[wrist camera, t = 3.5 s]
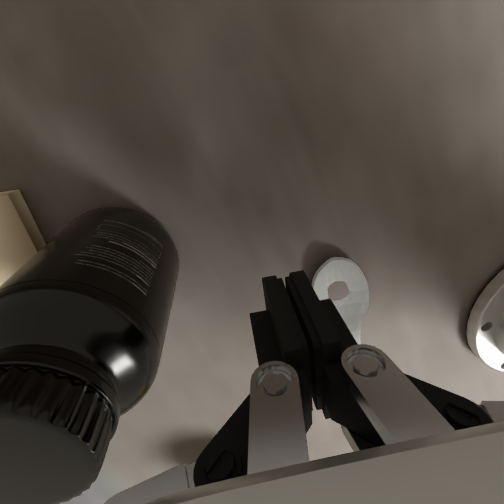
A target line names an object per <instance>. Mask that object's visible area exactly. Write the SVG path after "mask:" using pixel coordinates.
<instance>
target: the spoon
mask: <svg viewBox="0 0 504 504" xmlns="http://www.w3.org/2000/svg"><path fill="white" fill-rule="evenodd" d="M335 281H344V282H345V283H346V285H347V287H348V289H349V291H350V292H349V294H348V295H347V296H346V297H344V298H343V299H342V300H335V301H333V300H332V302H333V303H334V305H335V307H336V308H337V310H338V312H339V313H340V315H341V317H342V318H343V320H344V322H345V323H346V325H347V327H348V329H349V330H350V332H351V334H352V335H353V337H354V339H355V340H356V342H357V344H361V341H360V331H361V326H362V323H363V320H364V318H365V316H366V313H367V310H368V305H369V287H368V284H367V281H366V278H365V276H364V274H363V272H362V271H361V269H360V268H359V267H358V265H357V264H356V263H355V262H353V261H352V260H350V259H347V258H343V257H332V258H330V259H328V260H327V261H326V262H325V263H323V264H322V265H321V266H320V268H319V269H318V270H317V271H316V273H315V275H314V277H313V280H312V287H313V289H314V291H315V292H316V294H317V296H318V298H319V300H324V299H329V298H328V290H327V288H328V287H329V286H330V285H331V284H332V283H334V282H335Z"/></svg>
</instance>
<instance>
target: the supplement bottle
mask: <svg viewBox="0 0 504 504" xmlns="http://www.w3.org/2000/svg"><path fill="white" fill-rule="evenodd" d="M178 270H179V258H178V253H177V249H176V247H175V244H174V242H173V240H172V239H171V237H170V236H169V234H168V233H167V232H166V231H165V230H164V228H163V227H162V226H160V225H159V224H158V223H157V222H155V221H154V220H153V219H151V218H149V217H148V216H146V215H144V214H142V213H139V212H137V211H133V210H130V209H125V208H117V207H109V208H100V209H96V210H92V211H89V212H87V213H85V214H83V215H81V216H79V217H78V218H76V219H75V220H74V221H72V222H71V223H70V224H69V225H68V226H67V227H65V228H64V229H63V230H62V231H61V232H60V233H59V234H57V235H56V236H55V237H54V238H53V239H52V240H51V241H50V242H49V243H47V244H46V245H45V246H44V247H43V248H42V249H41V250H40V251H39V252H37V253H36V254H35V255H34V256H33V257H32V258H31V259H30V260H29V261H27V262H26V263H25V264H24V265H23V266H22V267H21V268H20V269H19V270H17V271H16V272H15V273H14V274H13V275H12V276H11V277H10V278H9V279H8V280H6V281H5V282H4V283H3V284H2V285H1V286H0V504H59V503H61V502H66V501H69V500H71V499H72V498H73V497H76V496H79V495H81V493H82V492H83V491H85V490H87V489H89V488H90V486H91V484H92V483H93V482H94V481H95V480H96V479H97V477H98V475H99V472H100V469H101V467H102V464H103V461H104V458H105V455H106V452H107V448H108V445H109V442H110V440H111V439H112V437H113V436H114V434H115V431H116V429H117V425H118V421H119V417H120V416H121V415H123V414H125V413H126V412H128V411H129V410H130V409H132V408H133V407H134V406H135V405H136V404H137V403H138V402H139V401H140V400H141V399H142V398H143V397H144V396H145V395H146V393H147V392H148V390H149V389H150V387H151V386H152V384H153V382H154V380H155V377H156V374H157V370H158V366H159V363H160V358H161V353H162V348H163V344H164V339H165V334H166V329H167V325H168V320H169V315H170V310H171V306H172V301H173V296H174V291H175V287H176V281H177V276H178Z"/></svg>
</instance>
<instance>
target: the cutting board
mask: <svg viewBox="0 0 504 504" xmlns="http://www.w3.org/2000/svg"><path fill="white" fill-rule="evenodd" d="M45 245H46V243H45V241H44V239H43V237H42V235H41V233H40V231H39V229H38V227H37V225H36V223H35V221H34V219H33V217H32V215H31V213H30V210H29V208H28V206H27V204H26V202H25V200H24V198H23V196H22V194H21V192H20V190H19V189H17V190H11V191H4V192H0V286H1V285H2V284H3V283H4V282H5V281H6V280H8V279H9V278H10V277H11V276H12V275H13V274H14V273H15V272H16V271H17V270H19V269H20V268H21V267H22V266H23V265H24V264H25V263H26V262H27V261H29V260H30V259H31V258H32V257H33V256H34V255H35V254H36V253H37V252H39V251H40V250H41V249H42V248H43V247H44V246H45Z"/></svg>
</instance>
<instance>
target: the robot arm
mask: <svg viewBox="0 0 504 504" xmlns="http://www.w3.org/2000/svg"><path fill="white" fill-rule="evenodd" d="M262 282H263V289H264V297H265V304H266V310H265V311H260V312H254V313H250V319H251V324H252V330H253V336H254V342H255V347H256V353H257V358H258V364H259V367H258V368H257V369H255V371H254V373H253V374H252V377H251V384H250V394H249V395H248V397H247V398H246V399H245V400H244V401H243V403H242V404H241V405H240V406H239V407H238V409H237V410H236V411H235V412H234V414H233V415H232V416H231V417H230V418H229V420H228V421H227V422H226V423H225V425H224V426H223V427H222V428H221V429H220V431H219V432H218V433H217V434H216V435H215V437H214V438H213V439H212V440H211V442H210V443H209V444H208V445H207V446H206V448H205V449H204V450H203V451H202V453H201V454H200V456H199V457H198V459H197V460H196V461H195V462H193V463H191V464H189V465H187V466H185V464H184V463H182V464H180V465H178V466H176V467H174V468H171V469H169V470H167V471H165V472H163V473H161V474H159V475H156V476H154V477H152V478H150V479H148V480H146V481H143V482H141V483H139V484H137V485H135V486H133V487H131V488H128V489H126V490H124V491H122V492H120V493H118V494H116V495H114V496H113V497H111V498H110V499H108V500H107V501H106V502H105V503H104V504H504V401H482V402H481V405H477V404H475V403H474V402H472V401H470V400H468V399H466V398H464V397H461V396H459V395H456V394H454V393H451V392H449V391H446V390H444V389H441V388H439V387H436V386H434V385H431V384H429V383H426V382H424V381H421V380H419V379H416V378H414V377H411V376H409V375H406V374H404V373H403V372H402V371H401V370H400V369H399V368H398V367H397V366H396V365H395V363H394V362H393V361H392V360H391V359H390V358H389V357H388V356H387V355H386V354H385V353H384V352H383V351H382V350H380V349H378V348H376V347H374V346H370V345H366V344H357V342H356V340H355V339H354V337H353V335H352V334H351V332H350V330H349V329H348V327H347V325H346V323H345V322H344V320H343V318H342V317H341V315H340V313H339V312H338V310H337V308H336V307H335V305H334V303H333V302H332V300H331V299H324V300H319V298H318V296H317V294H316V292H315V291H314V289H313V287H312V285H311V283H310V281H309V279H308V278H307V276H306V274H305V272H304V271H303V270H302V271H297V272H291V273H290V274H289V277H285V284H286V288H285V285H284V283H283V280H282V278H278V279H277V278H276V276H269V277H264V278H262ZM467 340H468V344H469V346H470V348H471V350H472V351H473V353H474V354H475V355H476V356H477V357H478V358H479V359H480V360H481V361H482V362H483V363H484V364H486V365H487V366H489V367H490V368H492V369H495V370H497V371H501V372H504V269H503V270H502V271H500V272H499V273H498V274H497V275H496V276H495V277H494V278H493V280H492V281H491V282H490V283H489V284H488V285H487V286H486V287H485V289H484V290H483V292H482V293H481V294H480V296H479V297H478V299H477V301H476V302H475V304H474V306H473V308H472V310H471V313H470V316H469V320H468V323H467ZM312 398H313V401H314V404H315V407H316V409H317V410H320V409H322V410H323V413H324V416H325V419H328V418H331V420H333V421H335V422H337V423H339V424H340V425H341V428H342V431H343V433H344V435H345V437H346V439H347V441H348V442H349V444H350V446H351V448H352V449H353V451H354V452H351V453H346V454H341V455H337V456H332V457H327V458H323V459H318V460H313V461H309V455H308V447H307V440H306V433H307V431H308V430H309V428H310V426H311V425H312V412H311V411H313V408H312Z"/></svg>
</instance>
